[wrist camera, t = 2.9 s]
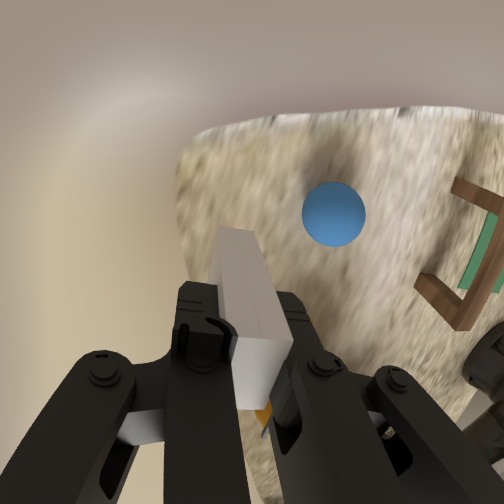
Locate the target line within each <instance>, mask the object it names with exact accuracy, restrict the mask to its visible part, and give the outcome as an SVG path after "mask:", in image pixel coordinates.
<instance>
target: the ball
mask: <svg viewBox="0 0 504 504" xmlns="http://www.w3.org/2000/svg"><path fill="white" fill-rule="evenodd" d="M302 220H303V224H304V227H305V229H306V231H307V232H308V234H309V235H310V236H311V237H312V238H313V239H314V240H315V241H317V242H319V243H320V244H323V245H326V246H331V247H337V246H343V245H346V244H348V243H350V242H351V241H353V240H354V239H355V238H356V237H357V236H358V235H359V234H360V232H361V230H362V228H363V226H364V223H365V207H364V204H363V201H362V199H361V198H360V196H359V195H358V194H357V192H356V191H355V190H353V189H352V188H351V187H349V186H347V185H345V184H342V183H337V182H329V183H324V184H322V185H319V186H317V187H316V188H314V189H313V190H312V191H311V192H310V193H309V194H308V196H307V197H306V199H305V201H304V204H303V208H302Z"/></svg>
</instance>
